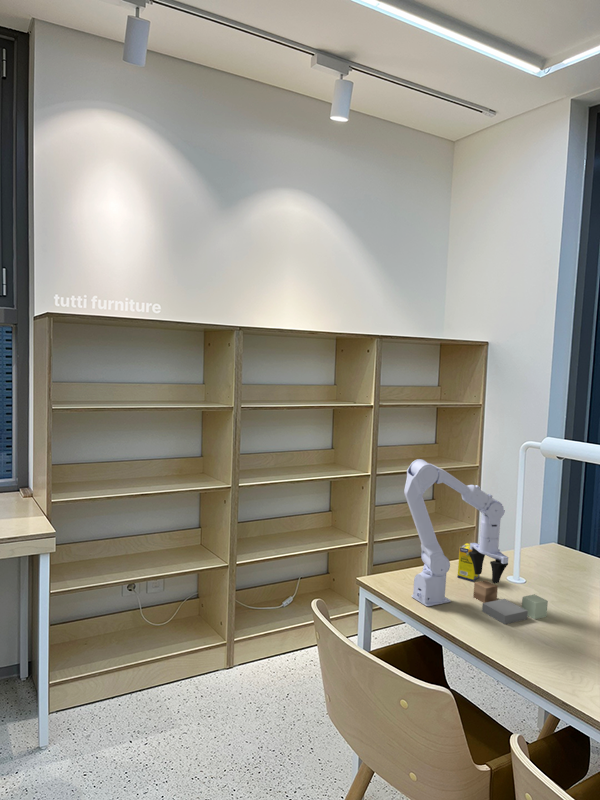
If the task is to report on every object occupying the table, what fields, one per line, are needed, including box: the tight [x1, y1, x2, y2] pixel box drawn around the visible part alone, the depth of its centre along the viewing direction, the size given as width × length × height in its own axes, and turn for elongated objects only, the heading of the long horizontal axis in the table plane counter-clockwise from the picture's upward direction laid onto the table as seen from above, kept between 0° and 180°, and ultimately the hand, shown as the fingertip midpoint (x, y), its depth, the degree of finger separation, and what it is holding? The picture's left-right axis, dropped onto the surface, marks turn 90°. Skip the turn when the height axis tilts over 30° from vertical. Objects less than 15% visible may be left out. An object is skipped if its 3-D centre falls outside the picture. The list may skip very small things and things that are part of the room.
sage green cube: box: [521, 594, 549, 620], centre depth 178 cm, size 5×5×5 cm
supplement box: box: [457, 542, 481, 583], centre depth 206 cm, size 6×6×11 cm
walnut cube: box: [472, 579, 499, 604], centre depth 188 cm, size 5×5×5 cm
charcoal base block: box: [481, 598, 528, 625], centre depth 177 cm, size 9×9×3 cm
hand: (486, 578), depth 188 cm, fingers open, 7 cm apart
